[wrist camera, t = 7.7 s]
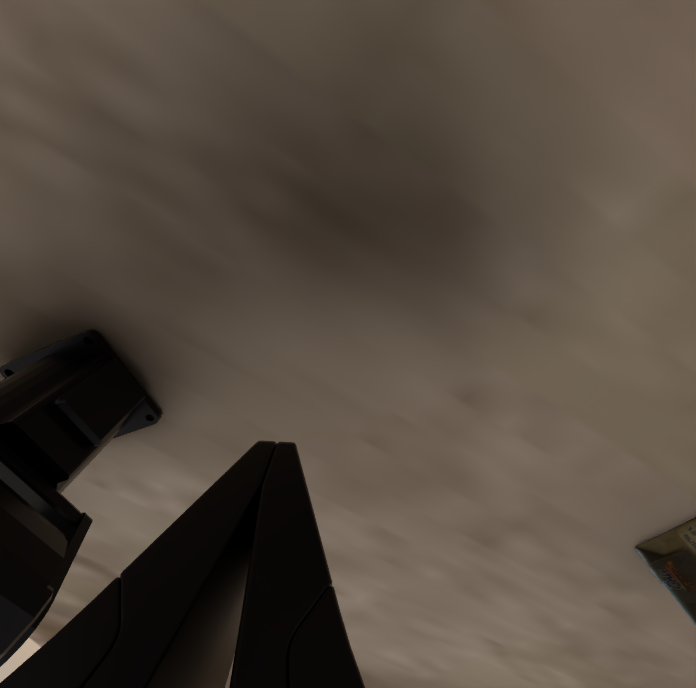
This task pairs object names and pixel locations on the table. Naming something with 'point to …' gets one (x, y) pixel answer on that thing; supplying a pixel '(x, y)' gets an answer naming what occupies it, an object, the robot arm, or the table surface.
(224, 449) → the table surface
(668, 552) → the beverage carton
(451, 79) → the table surface
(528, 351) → the table surface
